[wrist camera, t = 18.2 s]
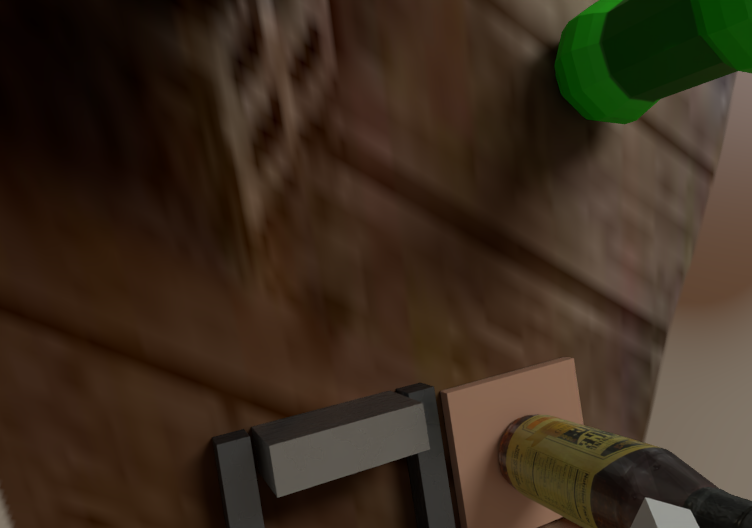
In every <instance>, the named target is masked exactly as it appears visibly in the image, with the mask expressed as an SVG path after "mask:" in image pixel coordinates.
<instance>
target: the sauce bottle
mask: <svg viewBox="0 0 752 528" xmlns="http://www.w3.org/2000/svg"><path fill="white" fill-rule="evenodd" d="M498 456H499V465H500V470H501V474H502V476H503V477H504V479H505V480H506V481H507V482H508V483H509V484H510V485H511V486H512V487H513V488H515V489H516V490H517V491H519V492H520V493H521V494H522V495H524V496H525V497H527V498H529V499H531V500H533V501H535V502H537V503H539V504H540V505H542V506H544V507H546V508H548V509H550V510H551V511H553V512H555V513H557V514H559V515H561V516H563V517H565V518H567V519H568V520H570V521H572V522H574V523H576V524H578V525H580V526H582V527H584V528H630V527H631V525H632V523H633V521H634V519H635V517H636V515H637V513H638V511H639V509H640V507H641V505H642V503H643V501H644V498H645V497H646V498H650V499H654V500H657V501H661V502H664V503H668V504H671V505H675V506H678V507H682V508H686V509H689V510H691V512H692V514H693V516H694V518H695V520H696V522H697V524H698V526H699V528H752V501H750V500H747V499H743V498H740V497H738V496H734V495H731V494H729V493H727V492H725V491H724V490H721V489H719V488H718V487H716V486H715V485H714V484H713V483H711V482H710V481H709V480H707V479H706V478H705V477H703V476H702V475H701V474H699V473H698V472H697V471H695V470H694V469H693V468H691V467H690V466H689V465H687V464H686V463H685V462H683V461H682V460H681V459H679V458H678V457H677V456H676V455H674V454H673V453H672V452H670V451H668V450H666V449H663V448H660V447H656V446H653V445H650V444H647V443H643V442H640V441H636V440H633V439H630V438H626V437H623V436H620V435H616V434H613V433H610V432H605V431H602V430H599V429H595V428H592V427H588V426H585V425H581V424H578V423H574V422H571V421H568V420H564V419H561V418H558V417H554V416H550V415H539V414H535V415H532V414H531V415H526V416H524V417H521V418H518V419H516V420H514V421H513V422H512V423H511V424H510V426H509V427H508V429H507V431H506V432H505V433H504V435H503V437H502V439H501V443H500V446H499V455H498Z"/></svg>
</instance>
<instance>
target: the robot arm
mask: <svg viewBox="0 0 752 528" xmlns="http://www.w3.org/2000/svg"><path fill="white" fill-rule="evenodd" d="M630 528H699V526H698V524H697V522H696V520H695V518H694V516H693V514H692V512H691V510H689V509H686V508H682V507H678V506H675V505H671V504H668V503H664V502H661V501H657V500H654V499H650V498H646V497H645V498H644V501H643V503H642V505H641V507H640V509H639V511H638V513H637V515H636V517H635V519H634V521H633V523H632V525H631V527H630Z"/></svg>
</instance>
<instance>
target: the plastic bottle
mask: <svg viewBox="0 0 752 528" xmlns="http://www.w3.org/2000/svg"><path fill="white" fill-rule="evenodd" d="M554 68H555V72H556V74H555V76H556V79H557V83H558V86H559V90H560V93H561V95H562V96H563V97H564V98H565V99H566V100H567V101H568V102H569V103H570V104H571V105H572V106H573V107H574V108H575V109H576V110H577V111H578V113H579V114H580V115H581V116H583V117H584V118H585V119H587V120H594V121H602V122H611V123H619V124H627V123H630V122H633V121H636V120H637V119H638V118H640V117H641V116H642V115H643V114H644V113H645V112H646V111H647V110H649V109H650V108H651V107H652V106H653V105H654V104H655V103H656V102H658V101H659V100H660V99H661V98H664V97H667V96H670V95H673V94H675V93H678V92H681V91H684V90H686V89H689V88H692V87H695V86H698V85H700V84H703V83H706V82H709V81H711V80H714V79H717V78H720V77H723V76H725V75H728V74H731V73H734V72H736V71H742V72H748V73H752V0H599V1H598V2H596V3H594V4H593V5H591V6H590V7H588V8H587V9H586V10H584V11H583V12H582V13H580V14H579V15H578V16H576V17H575V18H573V19H572V20H571V21H569V22H568V24H567V25H566V27H565V28H564V30H563V31H562V34H561V39H560V43H559V47H558V51H557V56H556V60H555V65H554Z"/></svg>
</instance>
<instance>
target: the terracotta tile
mask: <svg viewBox="0 0 752 528" xmlns="http://www.w3.org/2000/svg"><path fill="white" fill-rule="evenodd" d="M440 394H441V400H442V407H443V413H444V420H445V426H446V433H447V440H448V446H449V453H450V459H451V466H452V472H453V479H454V485H455V492H456V498H457V505H458V511H459V518H460V524H461V528H537V527H540V526H542V525H544V524H547V523H549V522H552V521H554V520H557V519H559V518H561V517H563V516H561V515H559V514H557V513H555V512H553V511H551V510H550V509H548V508H546V507H544V506H542V505H540V504H539V503H537V502H535V501H533V500H531V499H529V498H527V497H525V496H524V495H522V494H521V493H520V492H519V491H517V490H516V489H515V488H513V487H512V486H511V485H510V484H509V483H508V482H507V481H506V480H505V479H504V477H503V476H502V474H501V470H500V465H499V456H498V455H499V446H500V443H501V439H502V437H503V435H504V433H505V432H506V431H507V429H508V427H509V426H510V424H511V423H512V422H513V421H514V420H516V419H518V418H521V417H524V416H526V415H531V414H532V415H535V414H539V415H550V416H554V417H558V418H561V419H564V420H568V421H571V422H574V423H578V424H581V425H583V418H582V411H581V404H580V398H579V391H578V384H577V377H576V371H575V364H574V358H569V357H563V358H559V359H556V360H552V361H548V362H545V363H541V364H537V365H534V366H530V367H526V368H523V369H519V370H516V371H512V372H508V373H505V374H501V375H497V376H494V377H490V378H486V379H483V380H479V381H475V382H472V383H468V384H464V385H461V386H457V387H454V388H450V389H446V390H443V391H440Z"/></svg>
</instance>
